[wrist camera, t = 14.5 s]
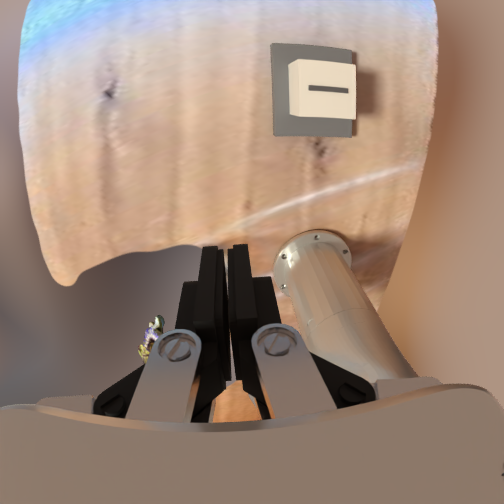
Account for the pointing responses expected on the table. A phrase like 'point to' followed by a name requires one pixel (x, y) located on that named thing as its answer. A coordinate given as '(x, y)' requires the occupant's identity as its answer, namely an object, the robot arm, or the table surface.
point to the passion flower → (151, 337)
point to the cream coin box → (322, 89)
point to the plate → (280, 92)
